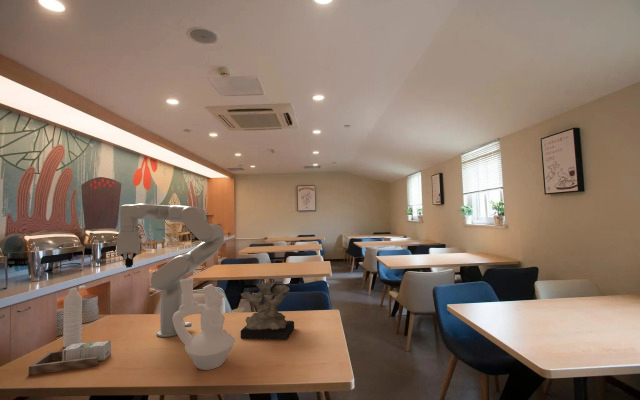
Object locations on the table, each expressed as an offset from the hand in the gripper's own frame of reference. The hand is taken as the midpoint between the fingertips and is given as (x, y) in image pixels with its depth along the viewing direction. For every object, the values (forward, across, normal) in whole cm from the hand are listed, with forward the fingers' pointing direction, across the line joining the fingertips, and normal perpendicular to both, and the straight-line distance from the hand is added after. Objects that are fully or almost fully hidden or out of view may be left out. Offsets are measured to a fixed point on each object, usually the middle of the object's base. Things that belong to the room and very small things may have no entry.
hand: (129, 267), depth 147 cm
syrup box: (+29, -1, +26) cm, 39 cm away
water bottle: (+32, +20, +5) cm, 38 cm away
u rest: (+32, +10, +27) cm, 43 cm away
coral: (+32, -65, +19) cm, 75 cm away
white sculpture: (+32, -40, +45) cm, 68 cm away
